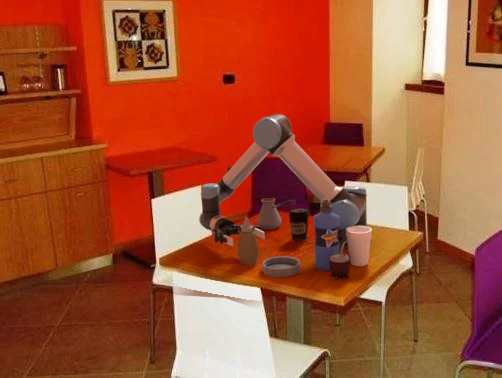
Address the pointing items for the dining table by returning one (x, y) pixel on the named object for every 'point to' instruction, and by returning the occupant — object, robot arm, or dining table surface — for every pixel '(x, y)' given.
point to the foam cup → (359, 244)
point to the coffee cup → (299, 224)
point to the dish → (281, 266)
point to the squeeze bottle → (247, 244)
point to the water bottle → (326, 236)
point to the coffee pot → (270, 214)
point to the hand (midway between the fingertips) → (248, 239)
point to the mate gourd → (339, 264)
